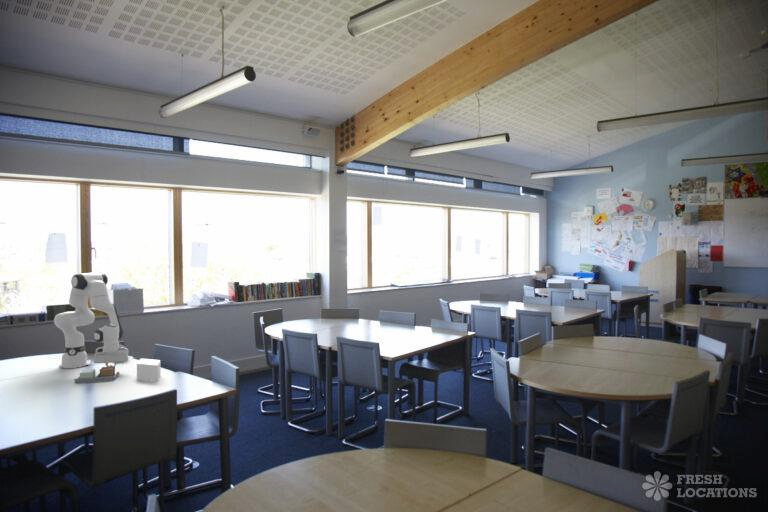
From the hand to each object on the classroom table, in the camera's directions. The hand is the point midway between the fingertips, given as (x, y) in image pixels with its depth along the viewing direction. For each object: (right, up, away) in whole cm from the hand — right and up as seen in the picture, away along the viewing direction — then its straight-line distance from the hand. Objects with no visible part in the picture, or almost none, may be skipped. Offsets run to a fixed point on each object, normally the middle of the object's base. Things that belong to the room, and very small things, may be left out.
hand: (111, 369), depth 314 cm
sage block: (-5, -3, -17) cm, 18 cm away
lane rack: (-1, -3, -13) cm, 14 cm away
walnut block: (+2, -3, -6) cm, 7 cm away
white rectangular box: (+30, -4, -9) cm, 31 cm away
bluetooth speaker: (-19, -3, +45) cm, 49 cm away
